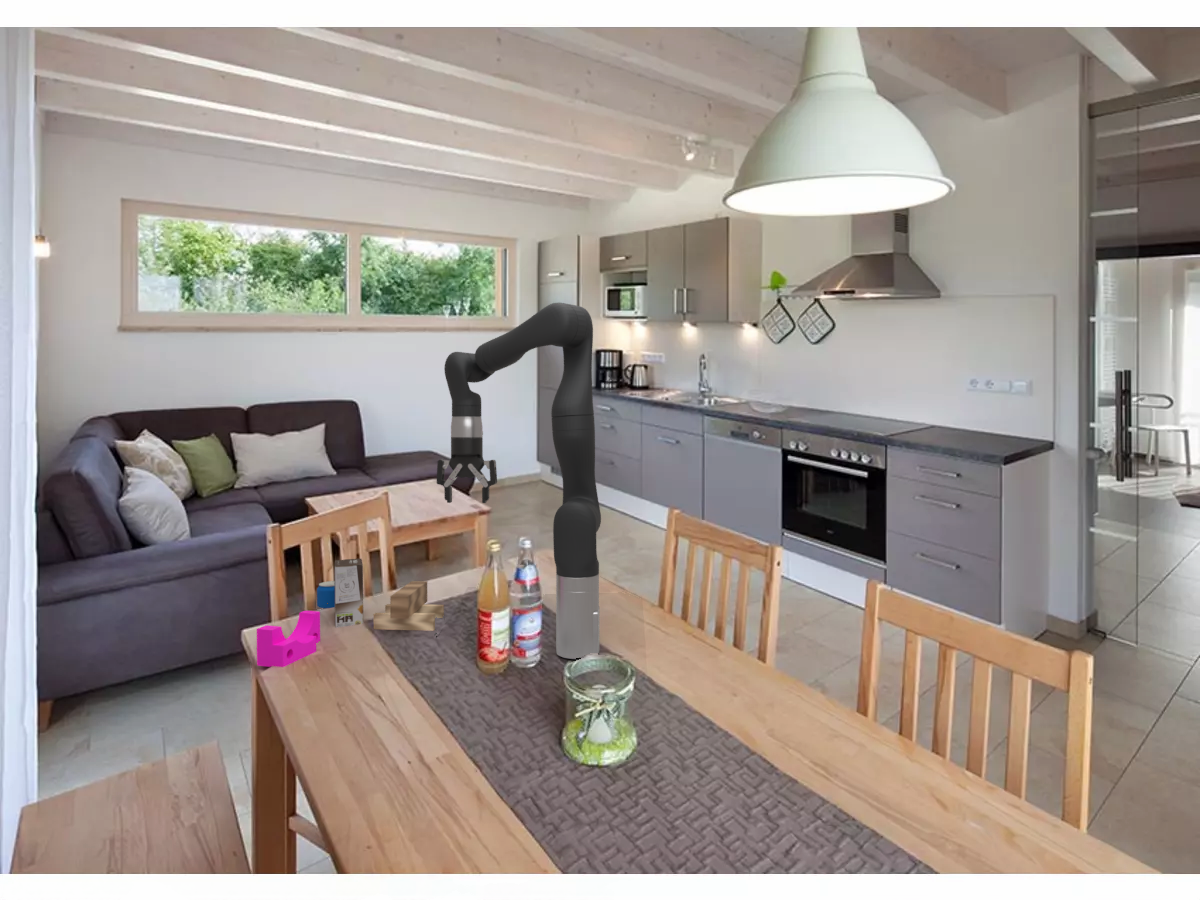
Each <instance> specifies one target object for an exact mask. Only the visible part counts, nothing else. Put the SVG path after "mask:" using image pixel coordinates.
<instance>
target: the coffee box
mask: <svg viewBox="0 0 1200 900" xmlns="http://www.w3.org/2000/svg"><path fill="white" fill-rule="evenodd" d="M334 581H335V607H334V624H335V628H344V627H350V626H356V625H362V624H364V564H363V560H362V558H348V559H335V560H334Z"/></svg>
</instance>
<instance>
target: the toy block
mask: <svg viewBox="0 0 1200 900" xmlns="http://www.w3.org/2000/svg"><path fill="white" fill-rule="evenodd" d="M319 641H320V642H321V612H320V611H317V610H303V611H300V612H298V620H297V623H296V625H295V628H294V629H293V631H292V633H291V634H290V635H289V636H288V637H285V635H284V633H283V628H282V626H279V625H267V624H266V625H264V626H261V627H258V628H256V665H257V666H259V667H269V668H271V667H277V668H284V667H287V666H289V665H291V664H293V663H295V662H297V661H299V660H301V659H304V658H306V657H308V656H310V655H312V654H314V653H316V652H317V644H319V643H320V642H319ZM318 642H319V643H318ZM316 643H317V644H316Z"/></svg>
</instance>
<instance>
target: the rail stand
mask: <svg viewBox="0 0 1200 900" xmlns="http://www.w3.org/2000/svg"><path fill="white" fill-rule="evenodd" d="M384 609H385V610H384V612H374V613H373V617H372V618H373V630H386V631H387V630H394V631H427V632H428V631H430V632H434V631H436V630H435V618H436V617H437V618H443V616H444V617H445V604H426V603H425V604H424V605H423V606H422V607H420V608H419V609H418V610H417V611H416V612H415V613H414V614H413V615H411V616H410V617H409V618H390V603H386V604H385V605H384ZM436 634H437V633H436V632H435V633H434V636H435V635H436Z"/></svg>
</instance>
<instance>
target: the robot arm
mask: <svg viewBox="0 0 1200 900" xmlns="http://www.w3.org/2000/svg"><path fill="white" fill-rule="evenodd" d="M593 326H594V324H593V320H592V317H591V315H590V313H589V311H588V310H587V309H586V308H585V307H582V306H580V305H575V304H571V303H564V302H553V303H549V304H548V305H546V306H545V307H543V308H542V309H540V310H539V311H537V312H536V313H534V314H533V315H532V316H531V317H529V318H528V319H526V320H524V321H523V322H522V323H520V324H519V325H518V326H516V327H514V328H513V329H511V330H509V331H508V332H506V333H503V334H501V335H500V336H497V337H495V338H492V339H490V340H487V341H486V342H484V343H482V344H480V345H479V346H478V347H476V350H475V353H471V352H462V351H453V352H451V353H450V354H449V355H447V357H446V359H445V362H444V376H445V380H446V383H447V388H448V393H449V394H450V399H451V424H450V459H449V460H445V459H439V460H437V468H436V484H437V485H440V486H442V487H443V488H444V501H446V503H447V504H448V503H449V504H450V503H452V502H453V487H452V485H453V483H454V482H455V481H456V480H457V479H458V478H459V479H461V478H462V479H464V478H469V479H470V478H471V479H473V478H476V479H477V481H479V482H480V484H481V485H482V488H481V498H482V499H481V503H482V504H487V502H488V501H489V500H490V488H491V486H494V485H496V484H497V483H498V474H497V473H498V471H497V461H496V459H491V460H484V457H483V455H484V454H483V453H484V452H483V447H484V445H483V442H484V441H483V440H484V439H483V436H484V431H483V422H482V420H483V419H482V397H481V394H479V393H478V392H474V391H472V390H471V388H470V385H469V383H480V382H483V381H485V380H487V379H488V378H489V377H491V376H492V375H493V374H494V373H495V372H498V371H500V370H502V369H505V368H508V367H510V366H512V365H514V364H516V363H517V362H519V361H520V360H521V359H522V358H523V357H524V355H526V353H527V352H529V351H531V350H534V349H536V348H537V349H538V348H542V347H547V346H554V347H558V348H562V352H563V356H562V357H563V372H562V376H561V381H560V382H559V386H558V389H557V390H556V394H555V395H554V399H553V401H552V405H551V412H550V414H551V431H552V440H553V447H554V451H555V453H556V454H555V455H556V457H557V461H558V463H559V467H560V471H561V477H562V505H560V507H558V509H557V510H556V512H555V514H554V517H553V524H552V525H553V527H552V528H553V529H552V533H553V534H552V537H553V538H552V539H553V559H554V564H555V569H556V570H555V573H556V574H555V579H556V580H555V582H556V583H555V584H556V585H555V586H556V587H555V589H556V590H555V591H556V592H555V593H556V595H555V599H556V601H555V605H556V606H555V607H556V609H555V615H556V616H555V618H556V620H555V625H556V627H555V633H556V634H555V635H556V636H555V638H556V639H555V640H556V641H555V647H556V651H555V652H556V655H557V656H559V657H562V658H564V659H571V660H577V659H576V658H579V657H582V656H584V655H586V654H590V653H599V654H600V598H599V597H600V592H599V591H600V562H599V560H598V554H597V553H598V552H597V532H598V531H599V529H600V528H601V523H602V514H601V508H600V503H599V497H598V496H599V495H598V491H597V484H596V473H595V472H596V430H595V428H596V427H595V410H594V400H593V373H592V372H593V371H592V367H593V366H592V365H593V363H592V362H593V347H594V346H593V344H594V342H593V341H594V340H593V339H594V327H593ZM448 466H449V467H450V468H451V470H452V472H451V473H450V475H449V476H448V478H447V479H446V480H445V471H446V470H447V469H448ZM484 466H486V468H487V469H488V470H489V480H488V479H487V478H486V475H485V474H484V473H483V471H482V469H483V468H484Z"/></svg>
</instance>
